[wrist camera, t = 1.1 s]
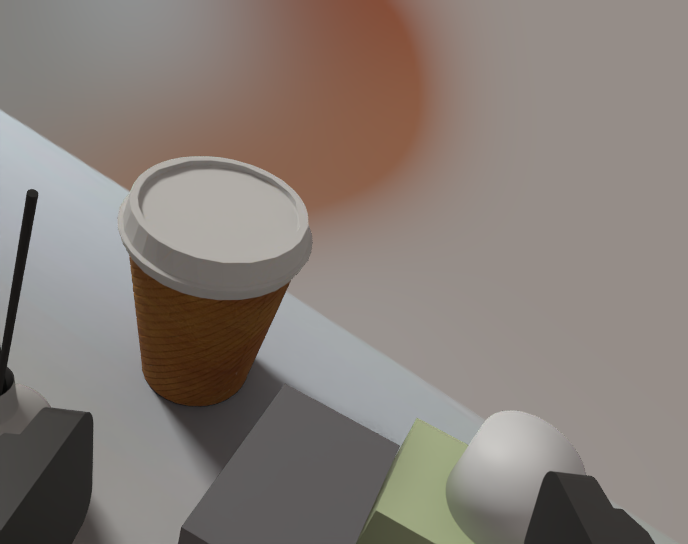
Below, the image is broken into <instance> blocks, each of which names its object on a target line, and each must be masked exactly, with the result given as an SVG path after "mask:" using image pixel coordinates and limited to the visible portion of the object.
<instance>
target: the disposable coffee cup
mask: <svg viewBox="0 0 688 544" xmlns="http://www.w3.org/2000/svg"><path fill="white" fill-rule="evenodd" d="M118 230H119V233H120V236H121V239H122V242H123V245H124V246H125V247H126V250H127V251H128V253H129V256H130V257H129V258H130V265H131V274H132V283H133V292H134V300H135V308H136V317H137V325H138V334H139V343H140V351H141V360H142V371H143V374H144V377H145V379H146V381H147V382H148V384H149V385H150V387H151V388H152V389H153V390H154V391H156V392H157V393H158V394H159V395H161V396H162V397H164V398H165V399H167V400H170V401H172V402H175V403H178V404H183V405H188V406H208V405H212V404H216V403H219V402H222V401H224V400H227V399H228V398H229V397H231V396H232V395H234V394H235V393H236V392H237V391H238V390H239V389H240V388H241V387H242V385H243V384H244V382H245V380H246V378H247V375H248V373H249V371H250V369H251V367H252V364H253V362H254V360H255V358H256V356H257V353H258V351H259V349H260V347H261V345H262V342H263V340H264V338H265V336H266V334H267V332H268V329H269V327H270V325H271V323H272V321H273V319H274V317H275V314H276V312H277V310H278V308H279V305H280V303H281V301H282V299H283V297H284V295H285V292H286V290H287V288H288V286H289V283H290V281H291V279H292V278H293V277H294V276H295V275H297V274H298V273H299V271H300V270H301V269H302V267H303V266H304V265H305V263H306V262H307V261H308V259H309V256H310V254H311V249H312V233H311V231H310V228H309V225H308V214H307V211H306V207H305V205H304V203H303V202H302V200H301V198H300V197H299V196H298V195H297V193H296V192H295V191H294V190H293V189H292V188H291V187H289V186H288V185H287V184H286V183H285V182H284V181H283V180H281V179H279V178H277V177H276V176H274V175H272V174H270V173H269V172H267V171H265V170H262V169H260V168H258V167H255V166H253V165H250V164H247V163H243V162H240V161H236V160H231V159H226V158H219V157H206V156H204V157H203V156H193V157H182V158H177V159H172V160H168V161H165V162H162V163H159V164H157V165H155V166H153V167H151V168H149V169H148V170H146V171H145V172H144V173H143V174H141V175H140V176H139V177H138V179H137V180H136V181H135V183H134V184H133V187H132V189H131V191H130V193H129V194H128V195H127V197H126V198H125V199H124V201H123V202H122V204H121V206H120V209H119V213H118Z"/></svg>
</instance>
